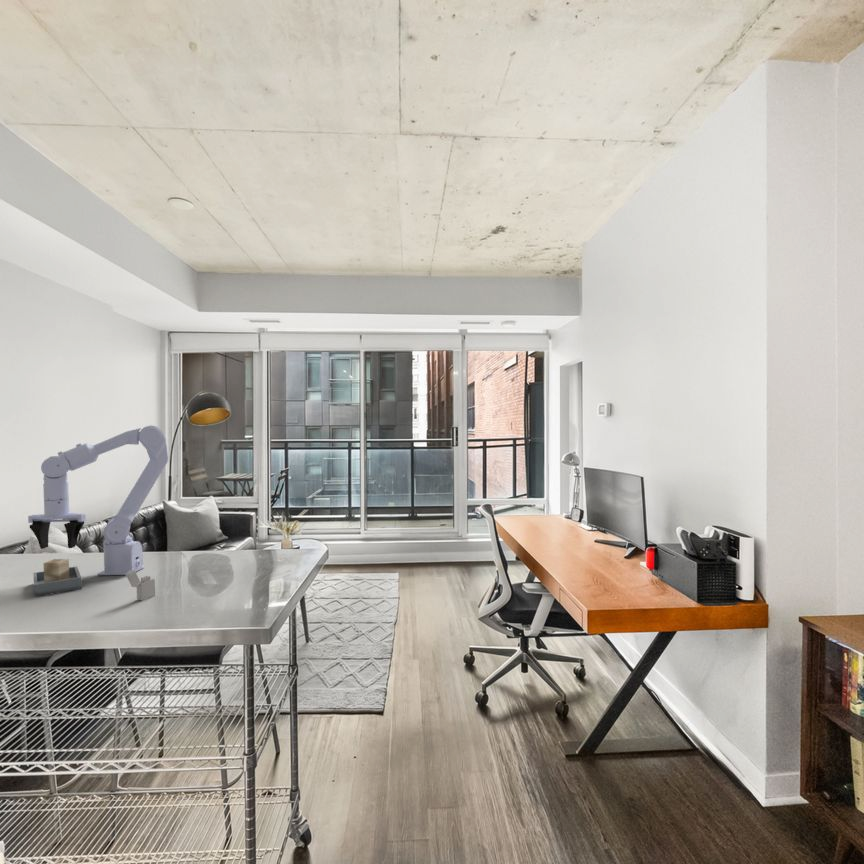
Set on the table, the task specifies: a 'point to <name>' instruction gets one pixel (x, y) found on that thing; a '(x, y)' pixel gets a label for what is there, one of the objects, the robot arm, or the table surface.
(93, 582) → the table surface
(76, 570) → the tray
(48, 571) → the block
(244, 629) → the table surface
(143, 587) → the lighter
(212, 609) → the table surface
